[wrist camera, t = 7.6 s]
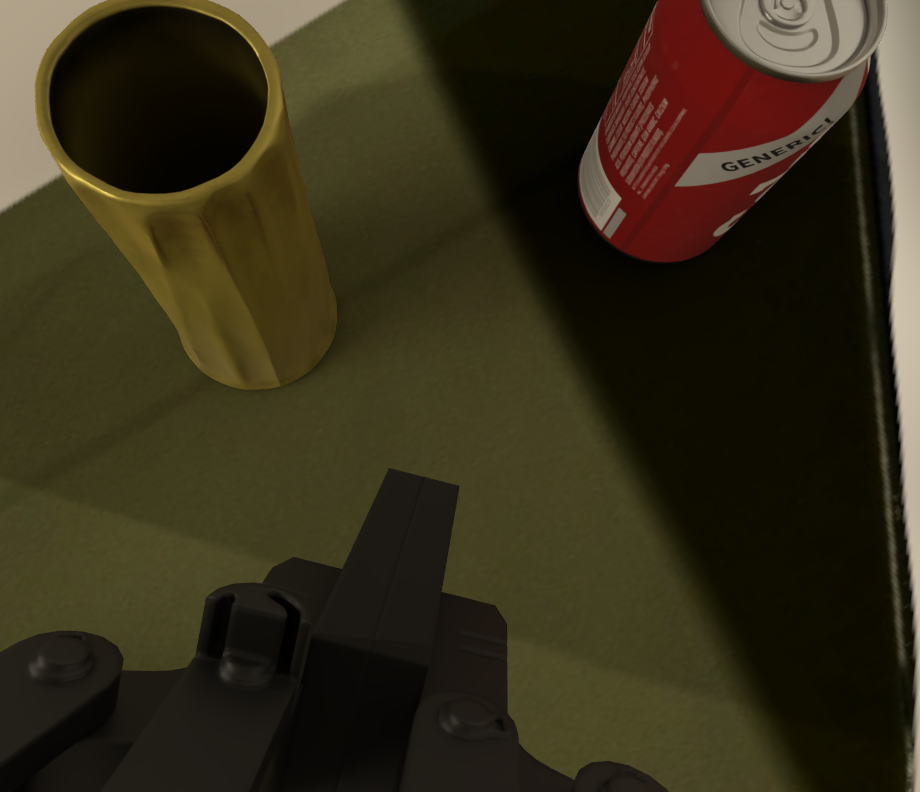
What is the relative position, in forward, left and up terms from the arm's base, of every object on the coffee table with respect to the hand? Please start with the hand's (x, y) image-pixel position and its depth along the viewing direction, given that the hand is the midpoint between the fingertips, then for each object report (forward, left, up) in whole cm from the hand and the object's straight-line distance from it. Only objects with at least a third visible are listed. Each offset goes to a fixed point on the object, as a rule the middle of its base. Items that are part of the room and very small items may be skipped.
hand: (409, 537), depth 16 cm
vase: (-8, +7, -13) cm, 17 cm away
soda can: (+6, +17, -13) cm, 23 cm away
